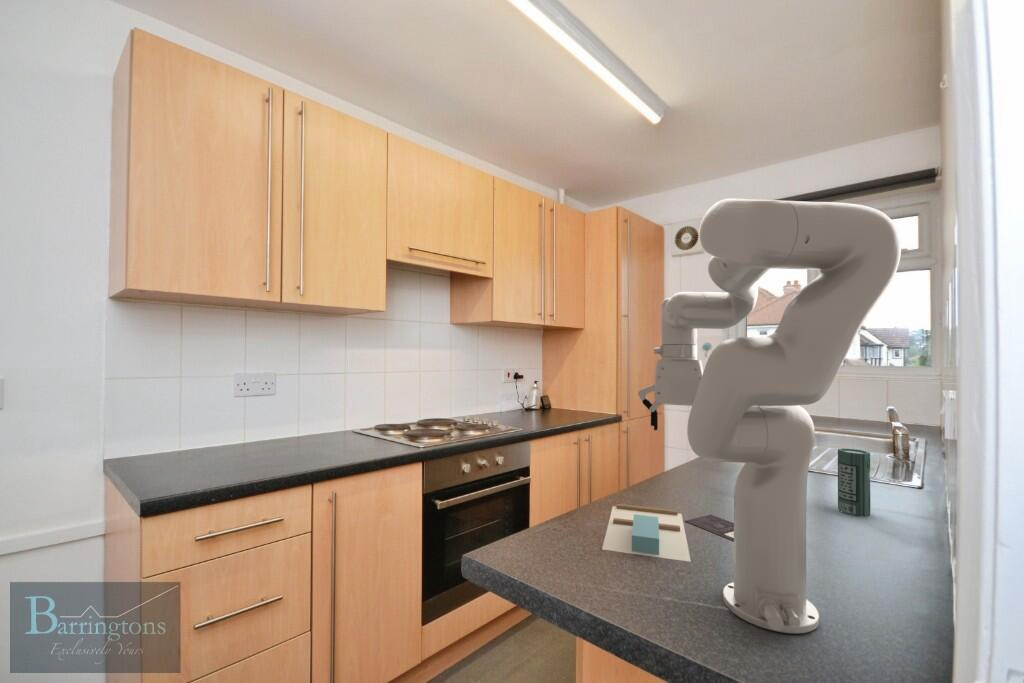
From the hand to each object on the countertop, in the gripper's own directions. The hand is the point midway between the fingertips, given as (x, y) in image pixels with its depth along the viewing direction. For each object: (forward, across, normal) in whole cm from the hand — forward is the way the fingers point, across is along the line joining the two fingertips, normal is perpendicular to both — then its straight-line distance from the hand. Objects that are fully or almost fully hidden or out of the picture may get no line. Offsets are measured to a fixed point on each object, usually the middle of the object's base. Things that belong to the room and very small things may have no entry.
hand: (678, 430), depth 99 cm
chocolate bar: (+22, +11, +2) cm, 25 cm away
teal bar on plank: (+21, -6, -10) cm, 24 cm away
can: (+22, +41, +28) cm, 54 cm away
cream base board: (+21, -7, -4) cm, 23 cm away
